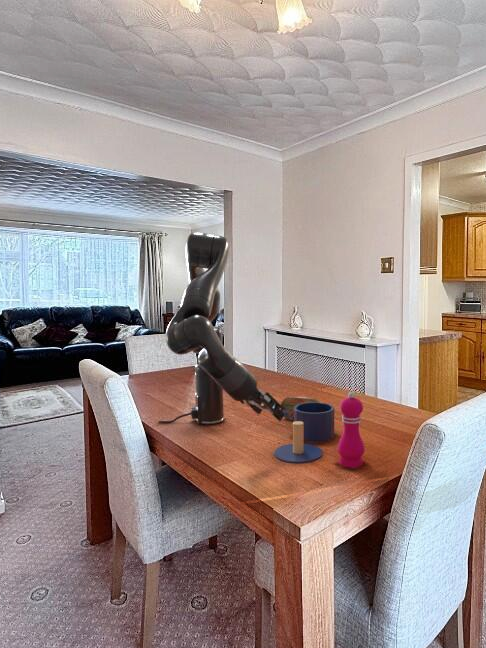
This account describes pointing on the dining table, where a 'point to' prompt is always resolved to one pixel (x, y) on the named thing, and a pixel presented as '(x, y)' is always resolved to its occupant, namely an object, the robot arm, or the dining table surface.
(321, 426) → the can
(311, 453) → the lid
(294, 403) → the tin
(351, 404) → the pepper mill
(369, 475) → the dining table surface
